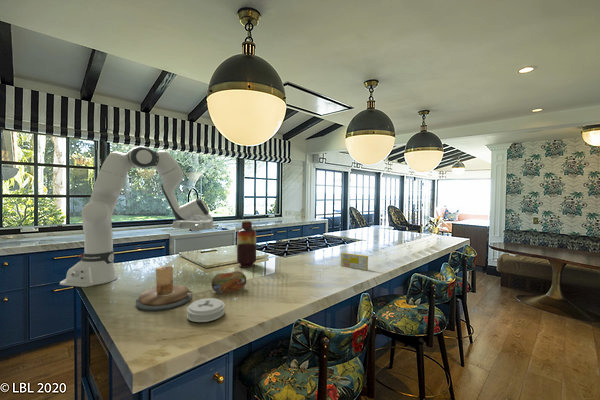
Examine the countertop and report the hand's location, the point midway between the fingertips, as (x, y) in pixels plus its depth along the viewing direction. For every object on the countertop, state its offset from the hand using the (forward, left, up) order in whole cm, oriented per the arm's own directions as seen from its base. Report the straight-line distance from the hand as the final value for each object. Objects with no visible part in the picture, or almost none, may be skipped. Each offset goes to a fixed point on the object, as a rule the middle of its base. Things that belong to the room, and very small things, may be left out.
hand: (187, 226), depth 140 cm
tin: (+26, -19, -26) cm, 42 cm away
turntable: (+4, -30, -24) cm, 39 cm away
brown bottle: (+26, +22, -26) cm, 43 cm away
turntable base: (+3, -30, -26) cm, 40 cm away
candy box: (+89, +19, -26) cm, 95 cm away
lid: (+24, -43, -26) cm, 56 cm away
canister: (+3, -30, -23) cm, 38 cm away
